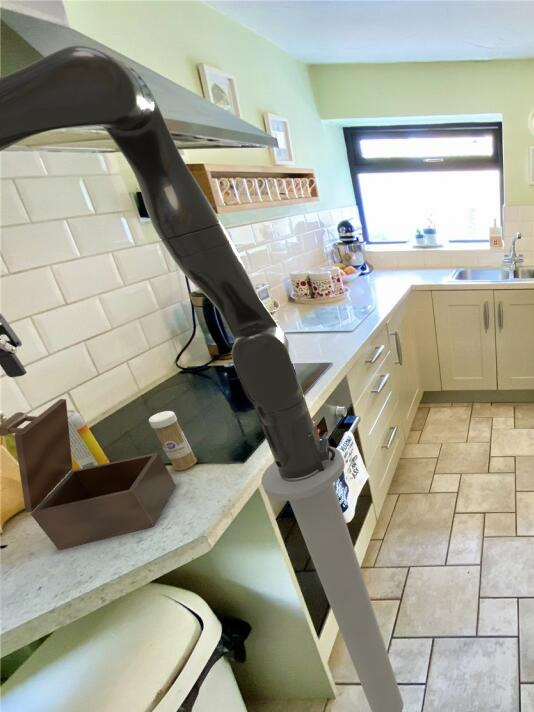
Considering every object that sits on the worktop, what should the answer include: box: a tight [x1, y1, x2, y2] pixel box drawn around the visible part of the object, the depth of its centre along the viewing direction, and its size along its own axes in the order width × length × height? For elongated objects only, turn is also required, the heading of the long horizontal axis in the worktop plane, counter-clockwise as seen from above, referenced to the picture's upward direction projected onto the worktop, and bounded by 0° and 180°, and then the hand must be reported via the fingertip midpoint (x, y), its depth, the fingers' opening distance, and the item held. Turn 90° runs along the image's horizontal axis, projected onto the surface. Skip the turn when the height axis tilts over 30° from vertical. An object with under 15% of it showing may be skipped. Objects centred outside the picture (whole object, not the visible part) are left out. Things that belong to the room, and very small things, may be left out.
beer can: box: [67, 409, 111, 471], centre depth 92 cm, size 6×6×15 cm
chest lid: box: [0, 398, 73, 513], centre depth 73 cm, size 15×13×5 cm
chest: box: [30, 452, 177, 551], centre depth 81 cm, size 15×13×9 cm
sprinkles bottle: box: [148, 410, 198, 471], centre depth 93 cm, size 5×5×13 cm
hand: (0, 386), depth 68 cm, fingers open, 8 cm apart
